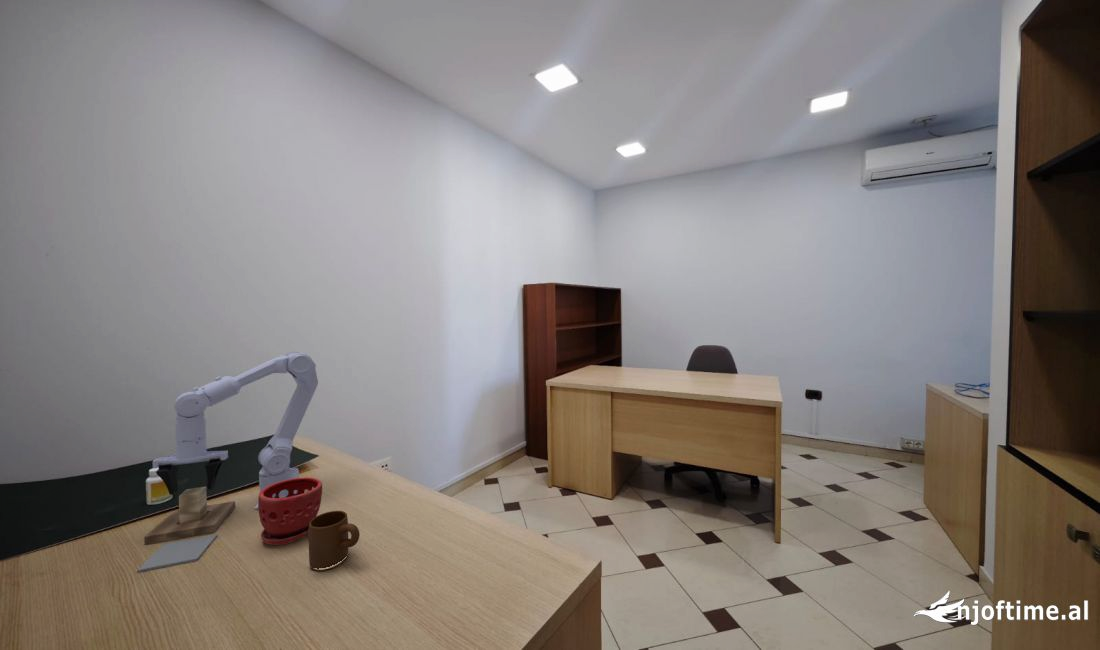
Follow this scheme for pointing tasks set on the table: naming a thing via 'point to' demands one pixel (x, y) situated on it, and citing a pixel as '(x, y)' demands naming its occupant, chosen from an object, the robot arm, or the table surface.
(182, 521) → the maple plug
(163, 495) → the supplement bottle
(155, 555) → the pad
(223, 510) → the brown square hole board
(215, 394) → the robot arm
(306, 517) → the plant pot
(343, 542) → the mug
